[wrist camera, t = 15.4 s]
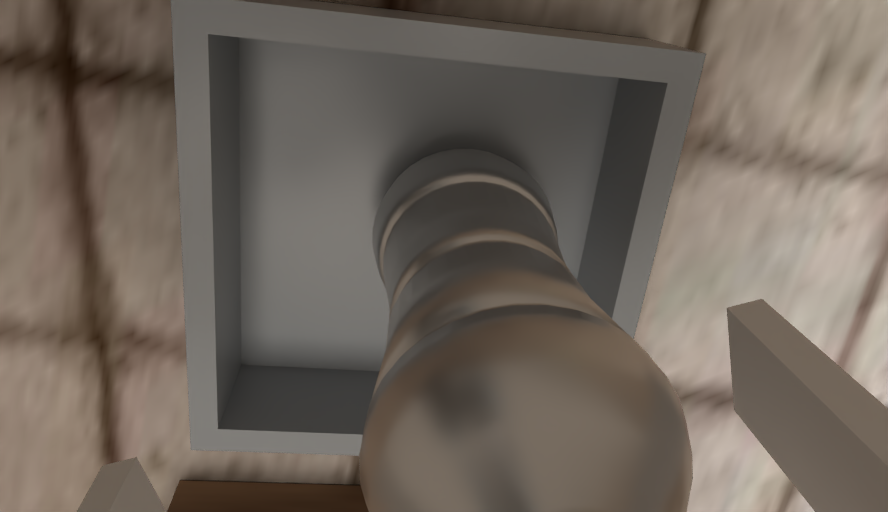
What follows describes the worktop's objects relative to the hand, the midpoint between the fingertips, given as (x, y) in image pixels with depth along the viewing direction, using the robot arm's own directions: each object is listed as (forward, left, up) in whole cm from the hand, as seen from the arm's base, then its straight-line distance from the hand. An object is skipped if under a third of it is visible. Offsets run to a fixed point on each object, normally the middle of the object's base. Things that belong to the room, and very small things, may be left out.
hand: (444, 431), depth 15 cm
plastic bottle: (0, +2, -13) cm, 13 cm away
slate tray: (0, 0, -14) cm, 14 cm away
